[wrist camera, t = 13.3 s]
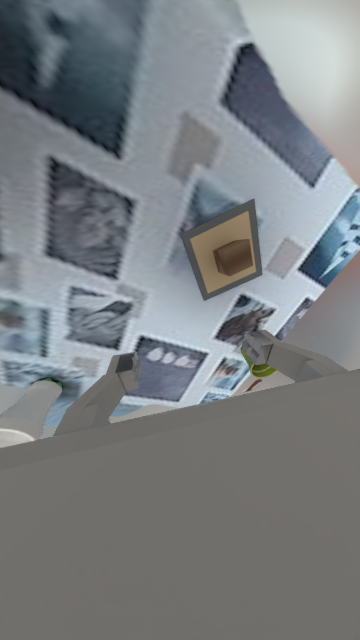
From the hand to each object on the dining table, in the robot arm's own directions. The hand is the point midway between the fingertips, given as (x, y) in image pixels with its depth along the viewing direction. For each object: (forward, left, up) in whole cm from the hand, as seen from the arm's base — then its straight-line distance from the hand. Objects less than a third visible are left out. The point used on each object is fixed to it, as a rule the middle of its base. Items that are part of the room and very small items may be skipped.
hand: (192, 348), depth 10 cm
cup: (+14, -47, -26) cm, 55 cm away
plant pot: (+32, +15, -26) cm, 43 cm away
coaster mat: (+1, +14, -25) cm, 29 cm away
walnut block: (+1, +14, -25) cm, 29 cm away
